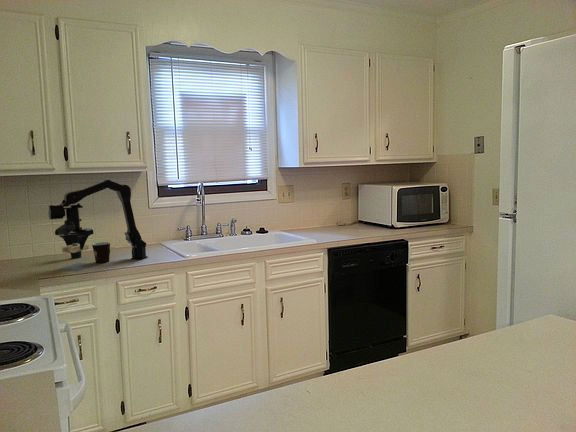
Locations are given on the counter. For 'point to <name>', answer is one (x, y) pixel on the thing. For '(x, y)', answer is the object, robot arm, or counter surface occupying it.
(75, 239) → the drinking cup
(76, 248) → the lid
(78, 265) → the mat
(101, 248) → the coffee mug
